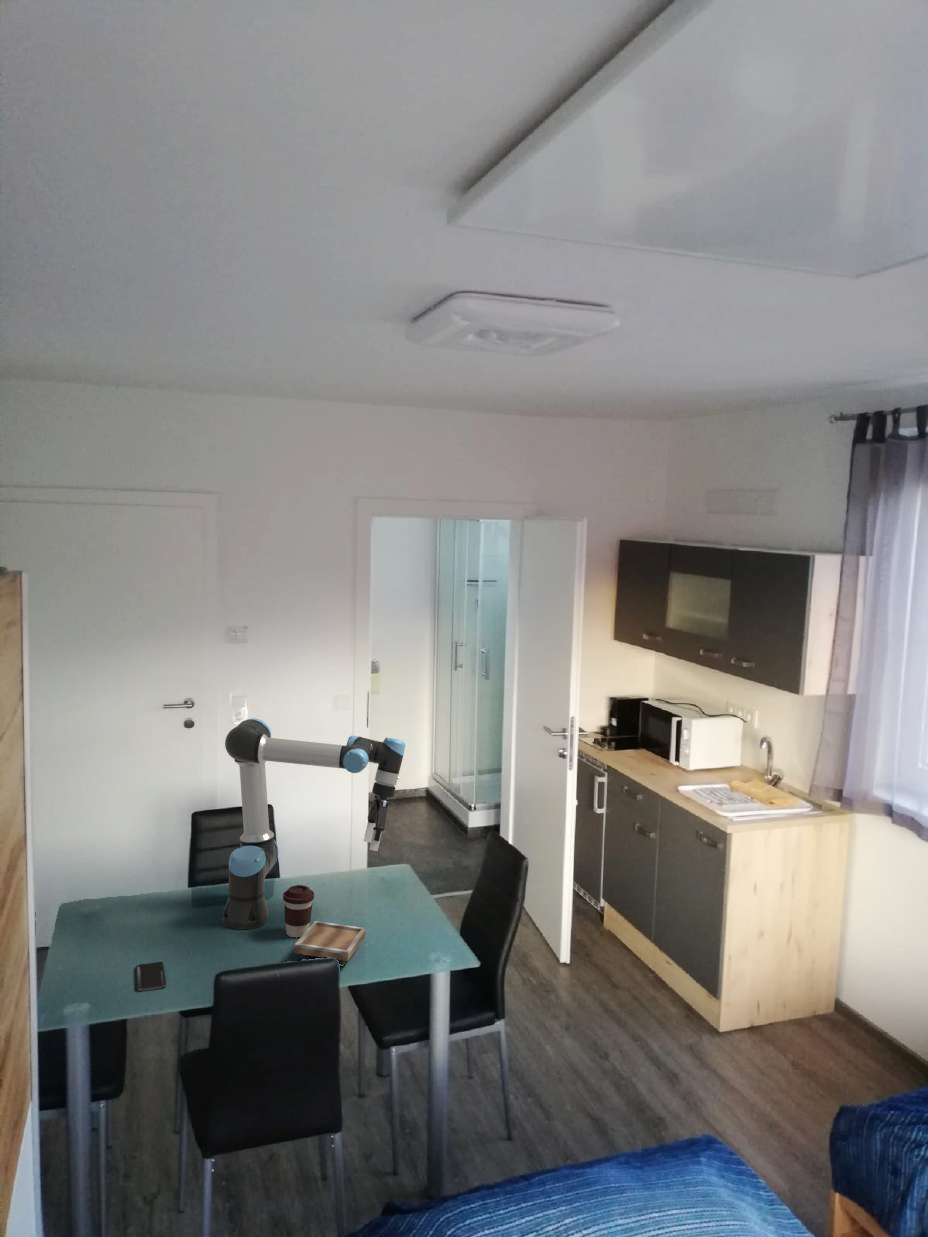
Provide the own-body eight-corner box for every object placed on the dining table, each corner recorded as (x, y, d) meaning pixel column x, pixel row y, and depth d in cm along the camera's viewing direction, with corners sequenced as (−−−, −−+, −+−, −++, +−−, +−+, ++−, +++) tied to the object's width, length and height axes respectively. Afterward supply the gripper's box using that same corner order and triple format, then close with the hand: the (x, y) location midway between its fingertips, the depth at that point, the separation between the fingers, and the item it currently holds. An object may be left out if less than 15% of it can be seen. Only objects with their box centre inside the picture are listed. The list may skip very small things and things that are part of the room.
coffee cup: (275, 935, 288) (276, 890, 287) (294, 924, 297) (296, 880, 296) (300, 943, 284) (301, 897, 282) (318, 931, 292) (320, 887, 291)
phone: (136, 989, 250) (136, 964, 263) (136, 993, 250) (136, 968, 264) (166, 986, 252) (164, 961, 266) (166, 989, 252) (164, 964, 266)
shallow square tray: (294, 962, 271) (294, 944, 270) (314, 938, 288) (315, 920, 287) (347, 970, 268) (348, 952, 267) (365, 945, 284) (365, 928, 284)
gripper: (402, 791, 292) (387, 856, 290) (389, 781, 316) (375, 840, 314) (380, 786, 290) (365, 851, 288) (369, 776, 314) (354, 836, 312)
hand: (370, 846), depth 301 cm, fingers open, 13 cm apart
